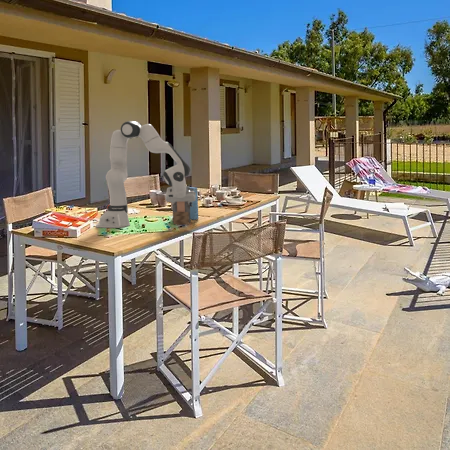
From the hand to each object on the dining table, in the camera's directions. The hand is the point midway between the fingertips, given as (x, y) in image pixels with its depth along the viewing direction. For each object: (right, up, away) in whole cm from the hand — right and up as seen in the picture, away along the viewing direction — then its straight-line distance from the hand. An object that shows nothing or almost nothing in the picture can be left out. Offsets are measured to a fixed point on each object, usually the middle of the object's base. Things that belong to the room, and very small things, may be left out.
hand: (181, 203), depth 346 cm
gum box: (+2, -10, +22) cm, 24 cm away
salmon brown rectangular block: (0, -7, +1) cm, 8 cm away
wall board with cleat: (0, -14, +1) cm, 14 cm away
